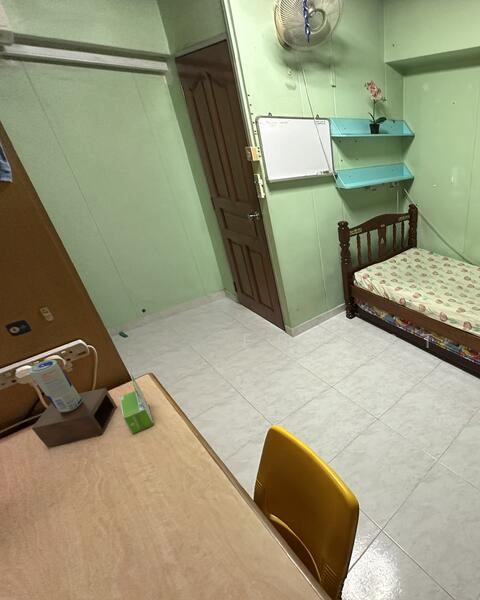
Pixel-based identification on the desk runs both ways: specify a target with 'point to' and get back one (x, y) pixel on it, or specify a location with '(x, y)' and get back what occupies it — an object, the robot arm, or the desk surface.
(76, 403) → the beverage can
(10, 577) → the desk surface
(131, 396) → the ink box
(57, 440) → the walnut shelf
